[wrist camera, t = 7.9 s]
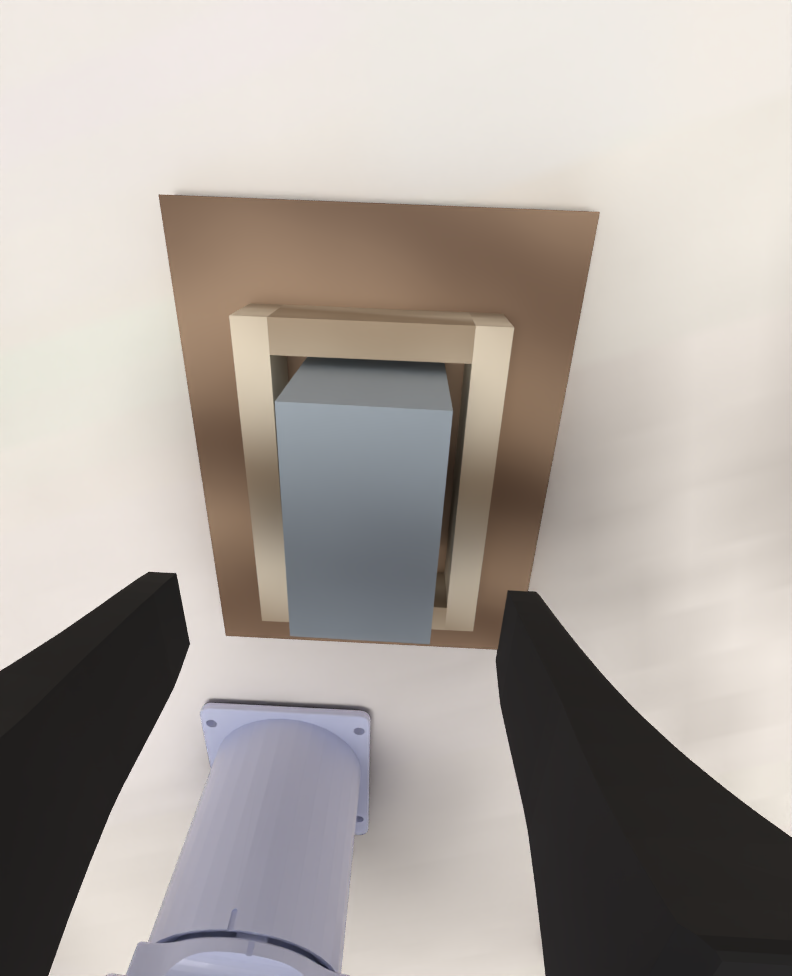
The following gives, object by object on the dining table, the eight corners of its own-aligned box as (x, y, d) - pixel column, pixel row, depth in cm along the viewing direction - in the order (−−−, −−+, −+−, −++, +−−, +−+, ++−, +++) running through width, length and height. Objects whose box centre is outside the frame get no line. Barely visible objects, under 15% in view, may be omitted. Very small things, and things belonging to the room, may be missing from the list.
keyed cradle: (512, 633, 23) (524, 689, 20) (233, 619, 23) (209, 673, 20) (588, 211, 15) (625, 212, 13) (173, 195, 15) (122, 192, 13)
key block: (442, 355, 16) (453, 411, 12) (426, 545, 20) (430, 644, 15) (313, 348, 16) (274, 401, 12) (318, 539, 20) (290, 636, 15)
